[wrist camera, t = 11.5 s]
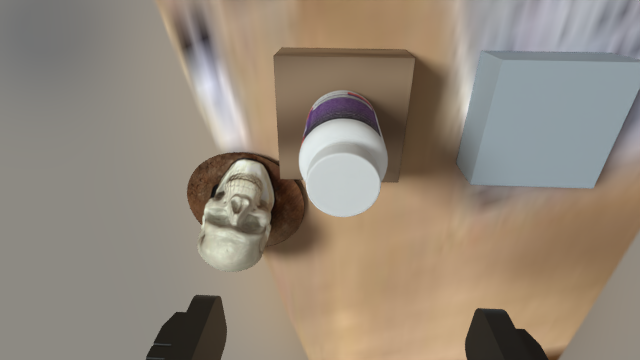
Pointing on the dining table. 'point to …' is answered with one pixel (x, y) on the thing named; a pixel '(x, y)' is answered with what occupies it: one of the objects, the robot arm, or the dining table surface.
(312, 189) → the pill bottle
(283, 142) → the walnut block
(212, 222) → the skull
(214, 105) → the dining table surface
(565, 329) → the dining table surface
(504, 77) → the slate block
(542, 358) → the robot arm
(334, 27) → the dining table surface
